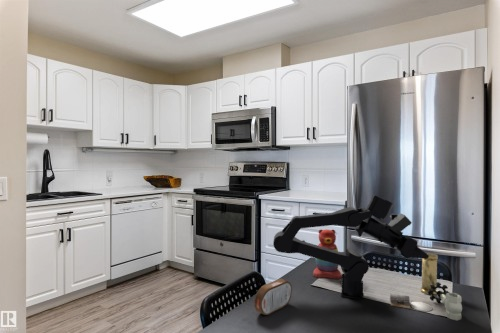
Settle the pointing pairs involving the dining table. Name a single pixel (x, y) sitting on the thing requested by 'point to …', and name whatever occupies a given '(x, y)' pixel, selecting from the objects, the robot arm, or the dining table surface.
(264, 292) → the tin
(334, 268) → the stacking bear
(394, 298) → the small brown box
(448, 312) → the valve
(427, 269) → the gold tall rounded piece
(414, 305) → the gap pad
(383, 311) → the dining table surface
